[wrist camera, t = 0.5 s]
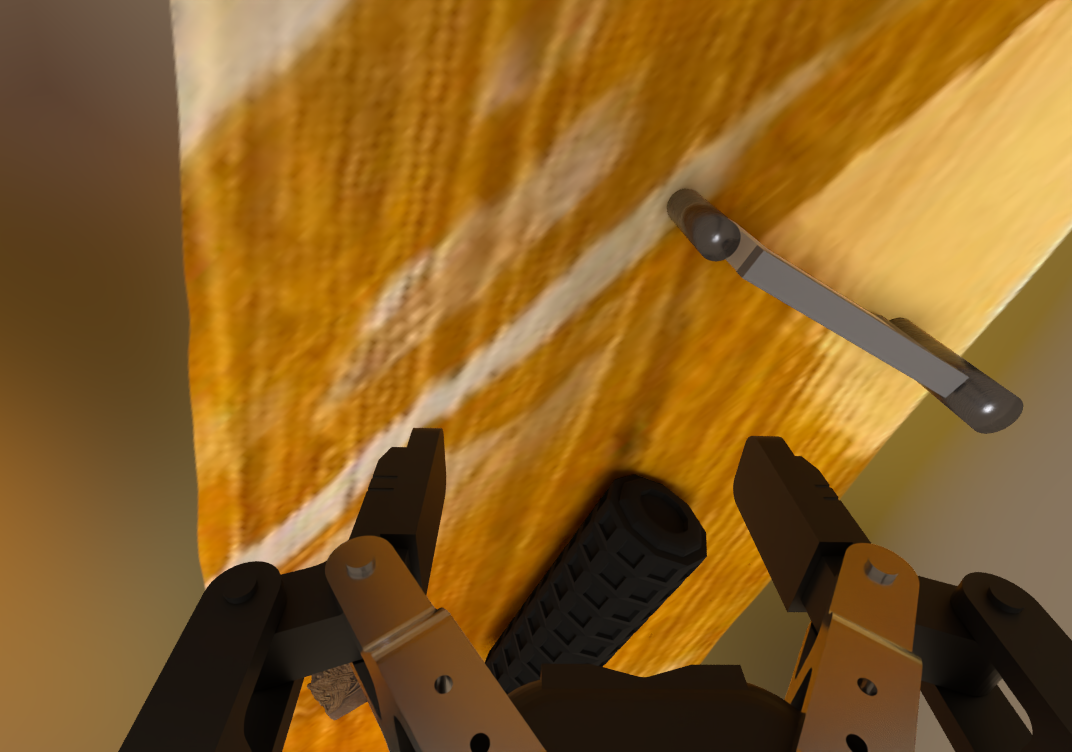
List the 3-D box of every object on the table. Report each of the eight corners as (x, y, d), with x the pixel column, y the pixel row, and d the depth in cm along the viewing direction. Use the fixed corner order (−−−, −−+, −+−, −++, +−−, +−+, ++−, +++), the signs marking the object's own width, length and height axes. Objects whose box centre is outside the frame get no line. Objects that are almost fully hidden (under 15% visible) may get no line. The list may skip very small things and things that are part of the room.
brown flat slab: (352, 604, 60) (349, 612, 60) (438, 631, 63) (437, 639, 63) (287, 703, 72) (284, 712, 71) (363, 723, 75) (361, 731, 74)
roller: (541, 695, 68) (519, 777, 59) (477, 656, 68) (444, 732, 60) (711, 504, 50) (715, 581, 41) (622, 452, 51) (607, 517, 42)
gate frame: (683, 178, 36) (738, 222, 26) (921, 328, 42) (1033, 406, 33) (657, 217, 37) (701, 271, 28) (891, 356, 43) (991, 440, 34)
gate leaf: (890, 319, 40) (969, 377, 33) (872, 337, 41) (945, 398, 34) (716, 211, 36) (763, 250, 29) (700, 233, 37) (742, 277, 30)
